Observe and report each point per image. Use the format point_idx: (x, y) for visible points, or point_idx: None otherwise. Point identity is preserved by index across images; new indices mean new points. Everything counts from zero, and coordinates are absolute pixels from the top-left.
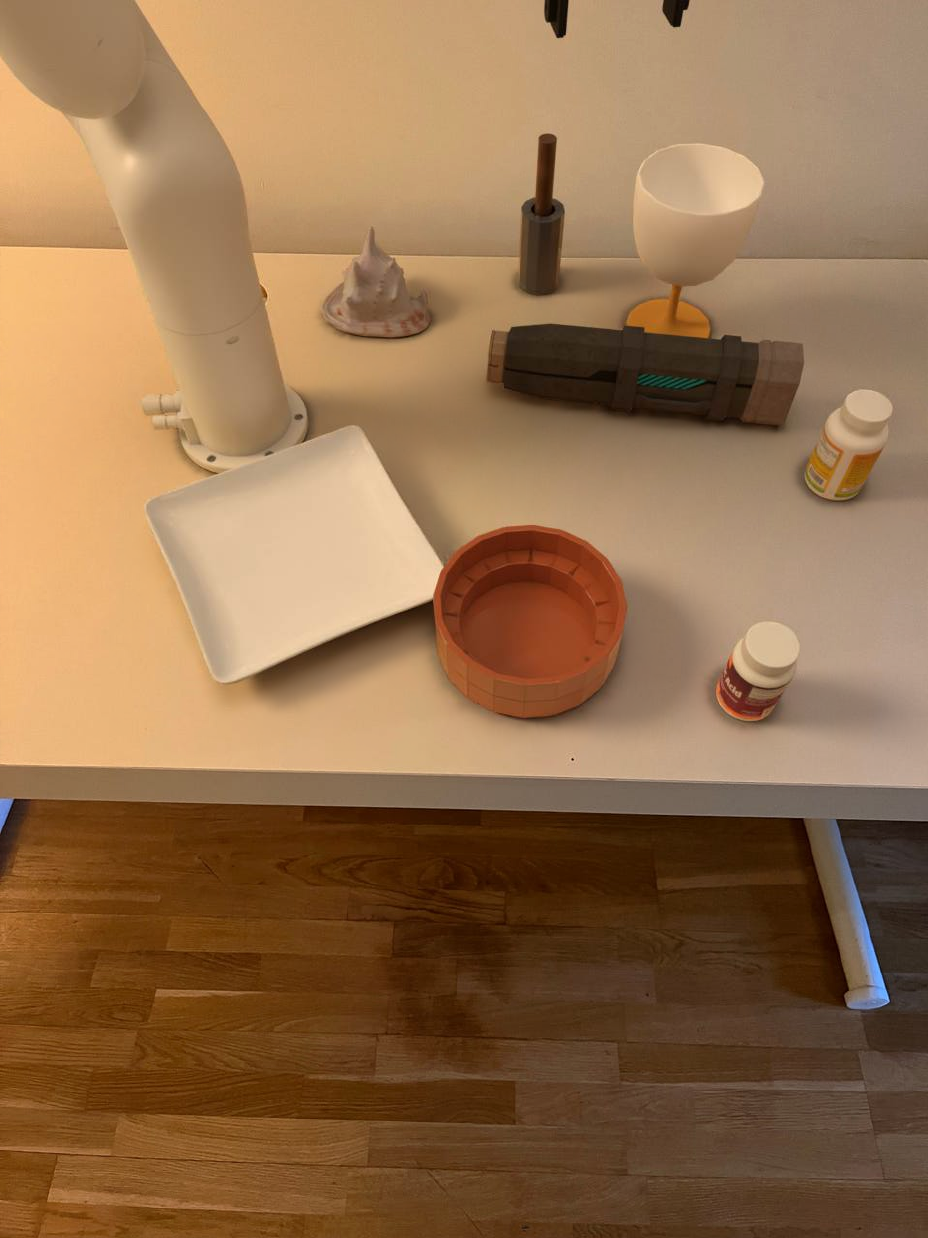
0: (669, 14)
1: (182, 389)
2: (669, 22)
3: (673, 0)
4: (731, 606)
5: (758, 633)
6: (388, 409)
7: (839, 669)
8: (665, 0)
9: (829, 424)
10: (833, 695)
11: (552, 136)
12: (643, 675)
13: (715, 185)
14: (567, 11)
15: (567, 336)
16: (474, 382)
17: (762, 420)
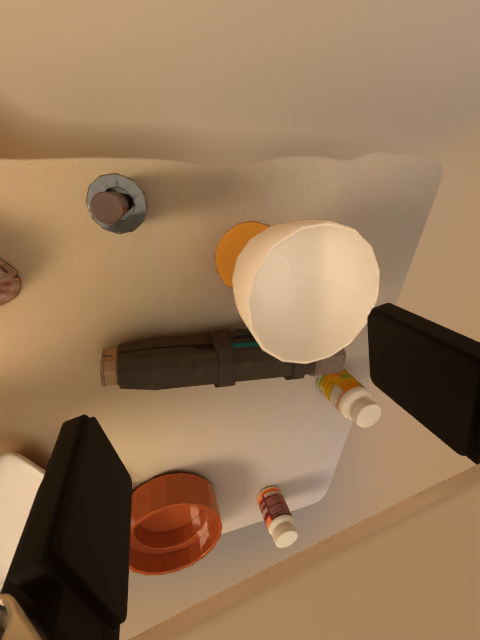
0: (379, 366)
1: None
2: (370, 367)
3: (405, 395)
4: (268, 460)
5: (281, 538)
6: (24, 388)
7: (307, 472)
8: (387, 336)
9: (342, 408)
10: (303, 482)
11: (114, 203)
12: (226, 500)
13: (327, 232)
14: (129, 539)
15: (172, 382)
16: (92, 346)
17: None
